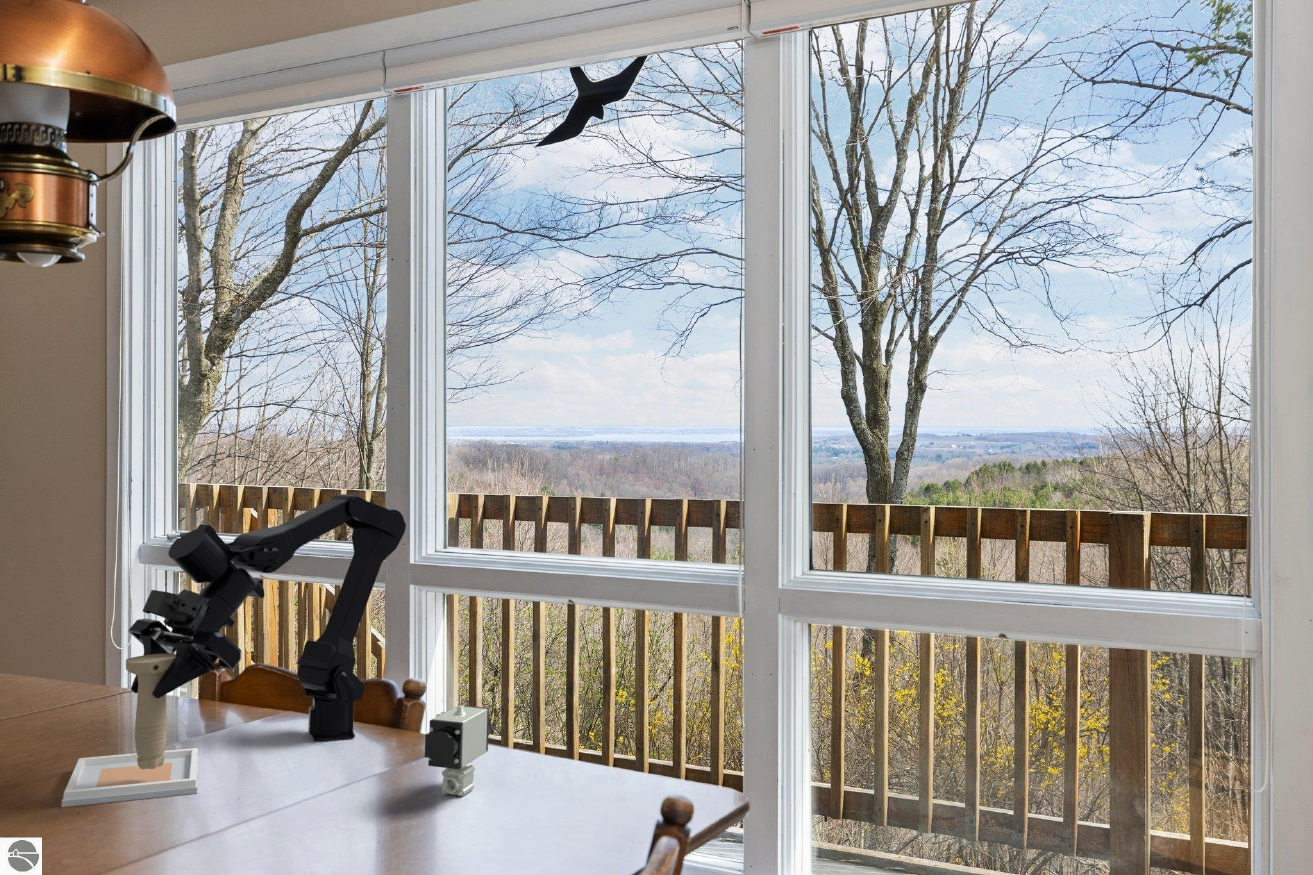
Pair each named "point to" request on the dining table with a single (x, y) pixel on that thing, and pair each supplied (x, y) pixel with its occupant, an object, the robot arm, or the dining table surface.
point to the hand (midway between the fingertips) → (143, 693)
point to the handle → (150, 708)
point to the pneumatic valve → (458, 745)
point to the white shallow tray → (131, 778)
